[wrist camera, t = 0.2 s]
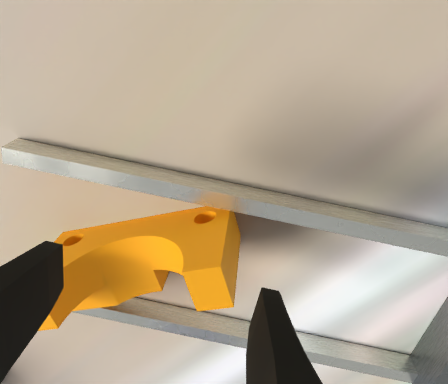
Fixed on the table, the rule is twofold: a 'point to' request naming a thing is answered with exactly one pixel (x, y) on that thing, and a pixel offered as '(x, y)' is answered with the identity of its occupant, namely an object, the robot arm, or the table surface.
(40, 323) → the robot arm
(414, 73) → the table surface
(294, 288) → the table surface
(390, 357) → the rail
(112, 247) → the pipe clamp
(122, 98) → the table surface
